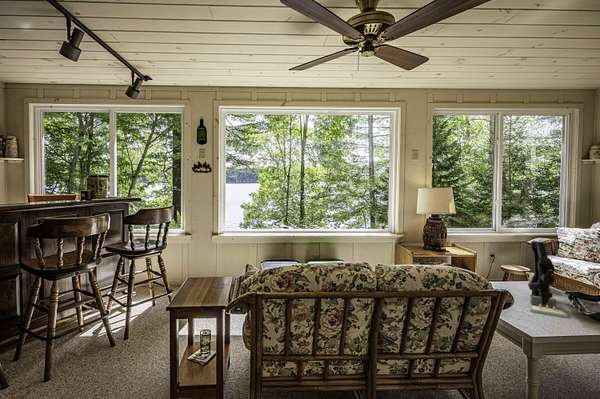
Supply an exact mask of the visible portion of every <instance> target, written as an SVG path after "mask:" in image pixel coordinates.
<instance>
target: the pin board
mask: <svg viewBox="0 0 600 399" xmlns="http://www.w3.org/2000/svg"><path fill="white" fill-rule="evenodd" d="M527 308H528V310H529V311H530V313H535V314H536V313H537V314H541V315H547V316H553V317H557V318H558V317H560V318H564V319H568V314H567V313H566V311H564V309H559V308H558V309H557V308H556V309H555V306H553V308H548V305H546V307H542V306H541V304H539V306H536V305H531V304H528V305H527Z"/></svg>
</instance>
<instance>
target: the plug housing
mask: <svg viewBox="0 0 600 399" xmlns="http://www.w3.org/2000/svg"><path fill="white" fill-rule="evenodd" d="M530 295H531V296H529V297H530V300H529V303H530V305H533V306H539V304H541V307H545V308H546V305H548V308H552V309H553V306H555V309H557V302H558V301H557V300H556V298H554V297H552V298H551V297H550V299H549V300H548V301H547V303H546V304H545V305H543V303H542V297H540V296H534V295H532V294H530Z"/></svg>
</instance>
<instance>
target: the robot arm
mask: <svg viewBox="0 0 600 399" xmlns="http://www.w3.org/2000/svg"><path fill="white" fill-rule="evenodd" d="M529 248H530V251H531V252H532V254H533V273H534V275H533V276H532V278H531V281H530V283H529V282H528V283H527V285H528V288H529V290H530V291H531V294H530V296H531V295H534V296H540V297H542V303H543V305H545V304H546V303H547V301H548V300H549V299H550V298H554V297H553V293H552V292H551V289H550V288H551V287H550V286H551V285H552V284H554V283H555V281H556V279H555V277H554V276H553V274H555V273H556V270H555V265H554V263H553V261H552V259H550V258H549V257H548V253H547V250H546V248H547V245H546V243H545V242H543V241H531V242H529ZM530 296H529V297H530Z"/></svg>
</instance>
